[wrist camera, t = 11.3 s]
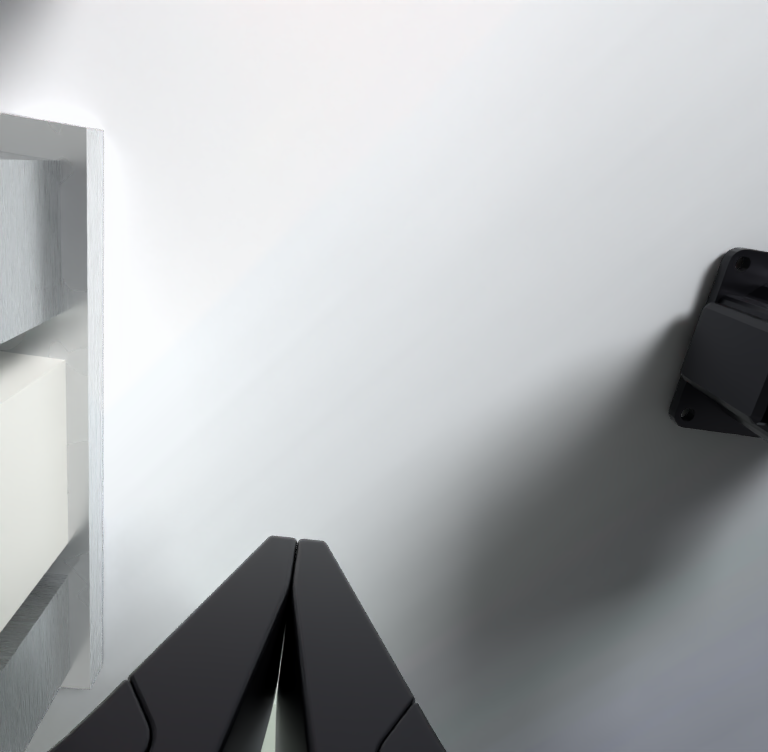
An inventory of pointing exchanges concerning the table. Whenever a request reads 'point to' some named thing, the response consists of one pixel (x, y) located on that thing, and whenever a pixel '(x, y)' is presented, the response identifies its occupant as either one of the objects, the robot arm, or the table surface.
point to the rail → (83, 397)
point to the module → (31, 474)
